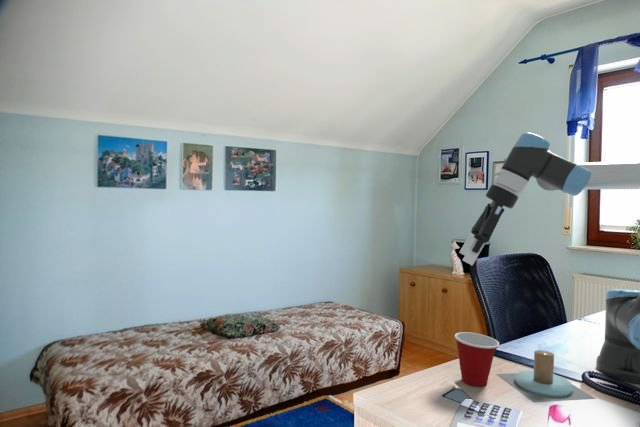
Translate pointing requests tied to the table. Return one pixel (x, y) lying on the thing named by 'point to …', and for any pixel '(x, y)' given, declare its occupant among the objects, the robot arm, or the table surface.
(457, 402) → the smartphone
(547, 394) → the lid
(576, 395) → the mat
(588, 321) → the table surface
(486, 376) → the plastic cup
